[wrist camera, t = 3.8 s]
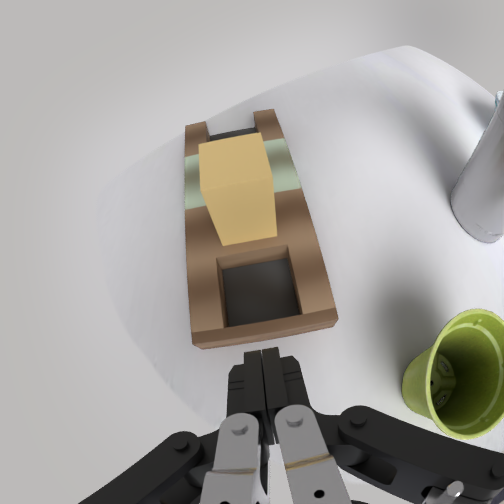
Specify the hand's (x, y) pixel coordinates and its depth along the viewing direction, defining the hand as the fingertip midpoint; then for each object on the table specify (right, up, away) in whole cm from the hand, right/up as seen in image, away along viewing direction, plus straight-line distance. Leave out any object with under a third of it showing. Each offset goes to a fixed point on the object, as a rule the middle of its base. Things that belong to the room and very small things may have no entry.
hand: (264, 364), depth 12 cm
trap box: (-1, +9, +20) cm, 22 cm away
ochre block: (-1, +8, +15) cm, 17 cm away
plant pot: (+16, -7, +9) cm, 20 cm away
